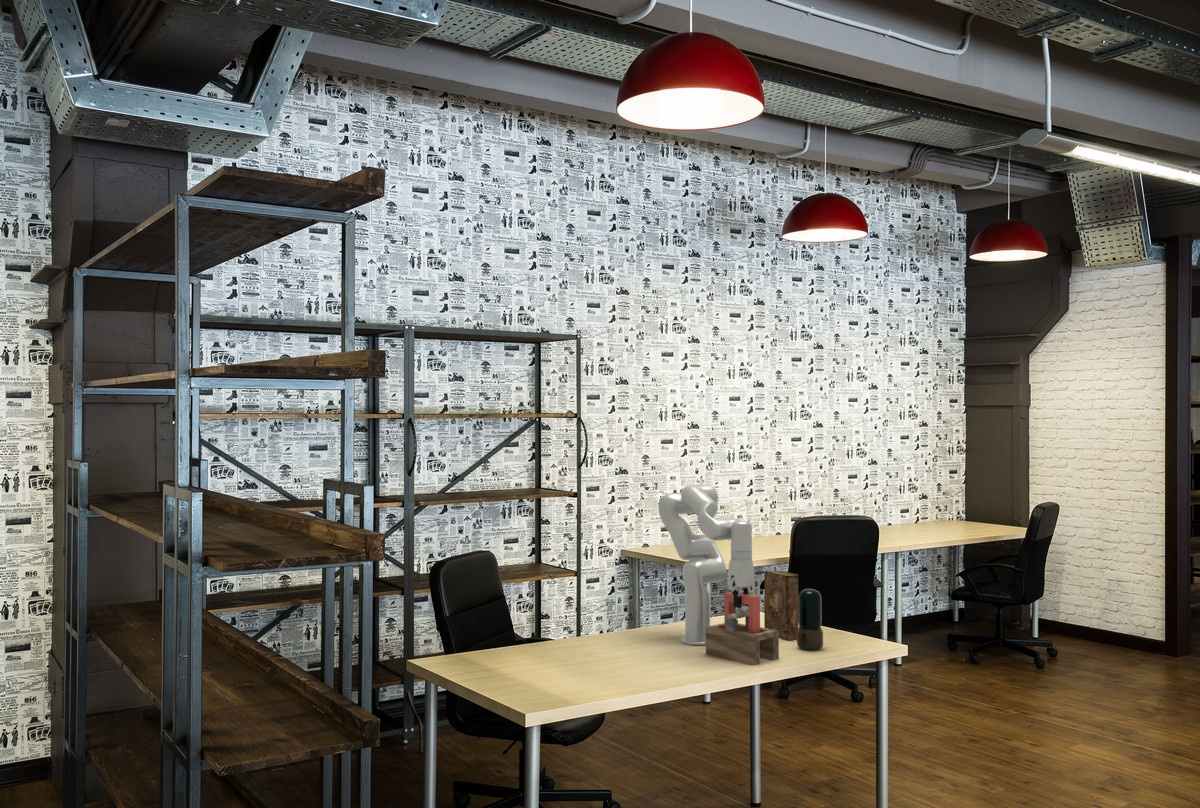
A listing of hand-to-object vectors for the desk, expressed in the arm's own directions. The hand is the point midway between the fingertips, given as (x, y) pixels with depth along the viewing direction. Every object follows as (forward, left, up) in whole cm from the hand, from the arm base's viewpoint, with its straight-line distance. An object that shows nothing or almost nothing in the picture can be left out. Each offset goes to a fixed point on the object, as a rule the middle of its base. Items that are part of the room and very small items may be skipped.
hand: (741, 606), depth 357 cm
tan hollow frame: (0, 0, -18) cm, 18 cm away
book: (-39, -11, -18) cm, 44 cm away
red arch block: (0, 0, -9) cm, 9 cm away
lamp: (-29, +9, -18) cm, 35 cm away
